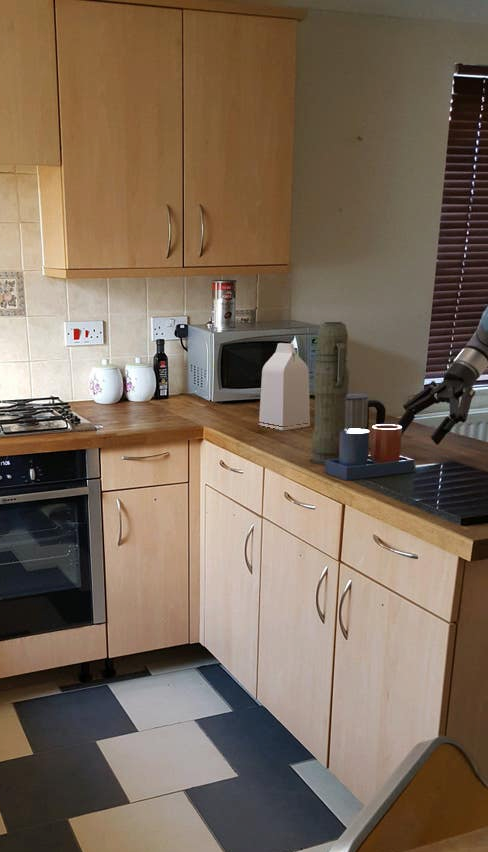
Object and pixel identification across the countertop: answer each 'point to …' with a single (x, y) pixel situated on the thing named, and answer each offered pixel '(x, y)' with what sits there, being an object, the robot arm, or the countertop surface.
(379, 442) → the terracotta cup
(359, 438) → the slate blue mug
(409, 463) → the sorter
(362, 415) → the milk frother
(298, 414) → the milk
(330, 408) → the thermos
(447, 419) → the robot arm
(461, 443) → the countertop surface
